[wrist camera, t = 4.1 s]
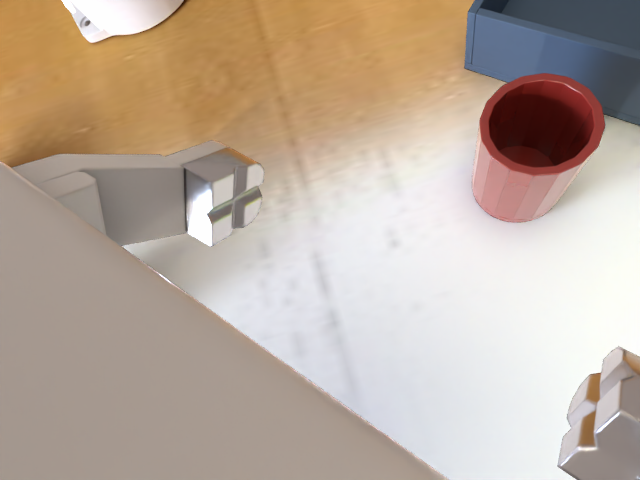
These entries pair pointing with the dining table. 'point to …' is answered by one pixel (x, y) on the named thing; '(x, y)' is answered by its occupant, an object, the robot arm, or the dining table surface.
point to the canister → (533, 144)
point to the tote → (562, 45)
